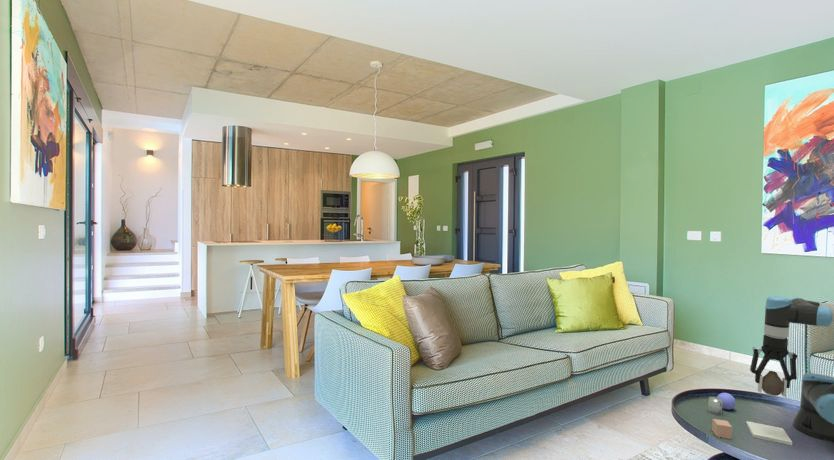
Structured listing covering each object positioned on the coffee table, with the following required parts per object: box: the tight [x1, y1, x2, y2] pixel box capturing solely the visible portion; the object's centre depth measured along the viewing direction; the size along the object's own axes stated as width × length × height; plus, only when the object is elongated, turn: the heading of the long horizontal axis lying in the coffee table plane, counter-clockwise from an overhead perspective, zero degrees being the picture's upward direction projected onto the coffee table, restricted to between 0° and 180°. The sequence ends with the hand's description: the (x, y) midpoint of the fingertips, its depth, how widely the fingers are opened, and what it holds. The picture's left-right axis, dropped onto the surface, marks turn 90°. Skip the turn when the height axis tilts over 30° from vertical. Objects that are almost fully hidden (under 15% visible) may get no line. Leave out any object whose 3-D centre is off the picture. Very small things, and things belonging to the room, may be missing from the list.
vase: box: [762, 370, 783, 397], centre depth 174 cm, size 7×7×9 cm
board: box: [745, 420, 793, 446], centre depth 175 cm, size 12×12×1 cm
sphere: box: [716, 392, 737, 410], centre depth 197 cm, size 7×7×7 cm
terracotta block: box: [711, 418, 733, 440], centre depth 174 cm, size 5×5×5 cm
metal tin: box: [707, 396, 723, 416], centre depth 193 cm, size 5×5×6 cm
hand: (771, 393), depth 174 cm, fingers closed on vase, 7 cm apart
